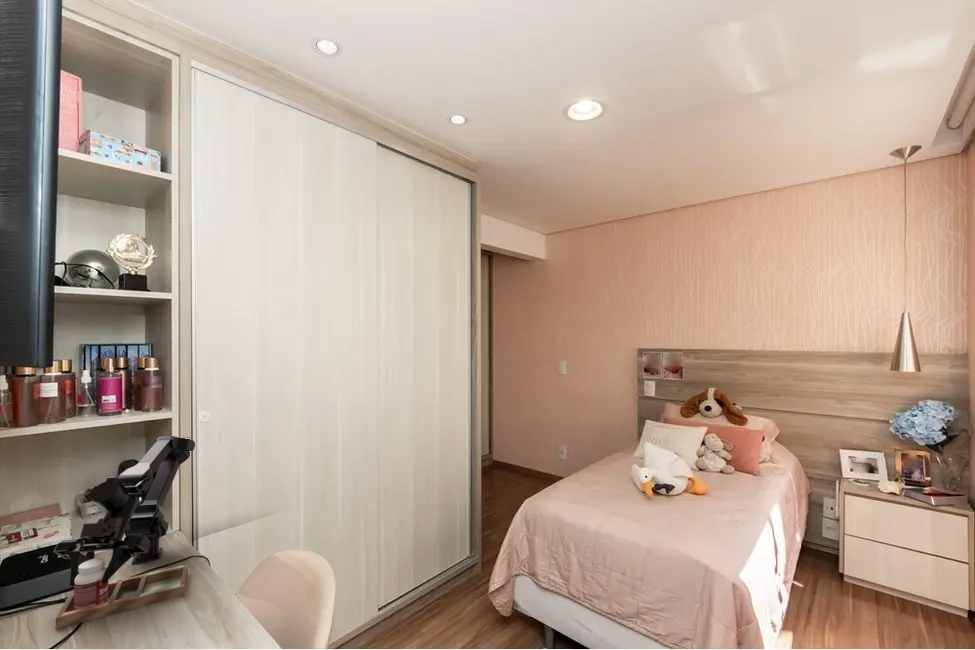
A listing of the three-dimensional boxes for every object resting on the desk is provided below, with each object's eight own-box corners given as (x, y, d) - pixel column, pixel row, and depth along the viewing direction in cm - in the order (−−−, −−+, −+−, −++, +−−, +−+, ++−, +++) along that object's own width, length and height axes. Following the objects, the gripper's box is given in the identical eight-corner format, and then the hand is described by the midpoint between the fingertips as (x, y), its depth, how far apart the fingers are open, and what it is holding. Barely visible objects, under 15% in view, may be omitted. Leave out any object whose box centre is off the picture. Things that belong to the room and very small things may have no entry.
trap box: (55, 629, 98) (55, 617, 98) (70, 602, 107) (70, 591, 107) (184, 595, 110) (184, 584, 110) (188, 574, 120) (188, 563, 120)
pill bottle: (105, 610, 104) (106, 565, 104) (70, 620, 101) (71, 573, 101) (110, 597, 109) (110, 553, 109) (77, 605, 106) (77, 561, 106)
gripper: (59, 508, 107) (20, 578, 96) (144, 503, 111) (116, 570, 100) (82, 525, 115) (49, 592, 104) (161, 520, 118) (136, 584, 108)
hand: (87, 584), depth 104 cm, fingers closed on pill bottle, 6 cm apart
